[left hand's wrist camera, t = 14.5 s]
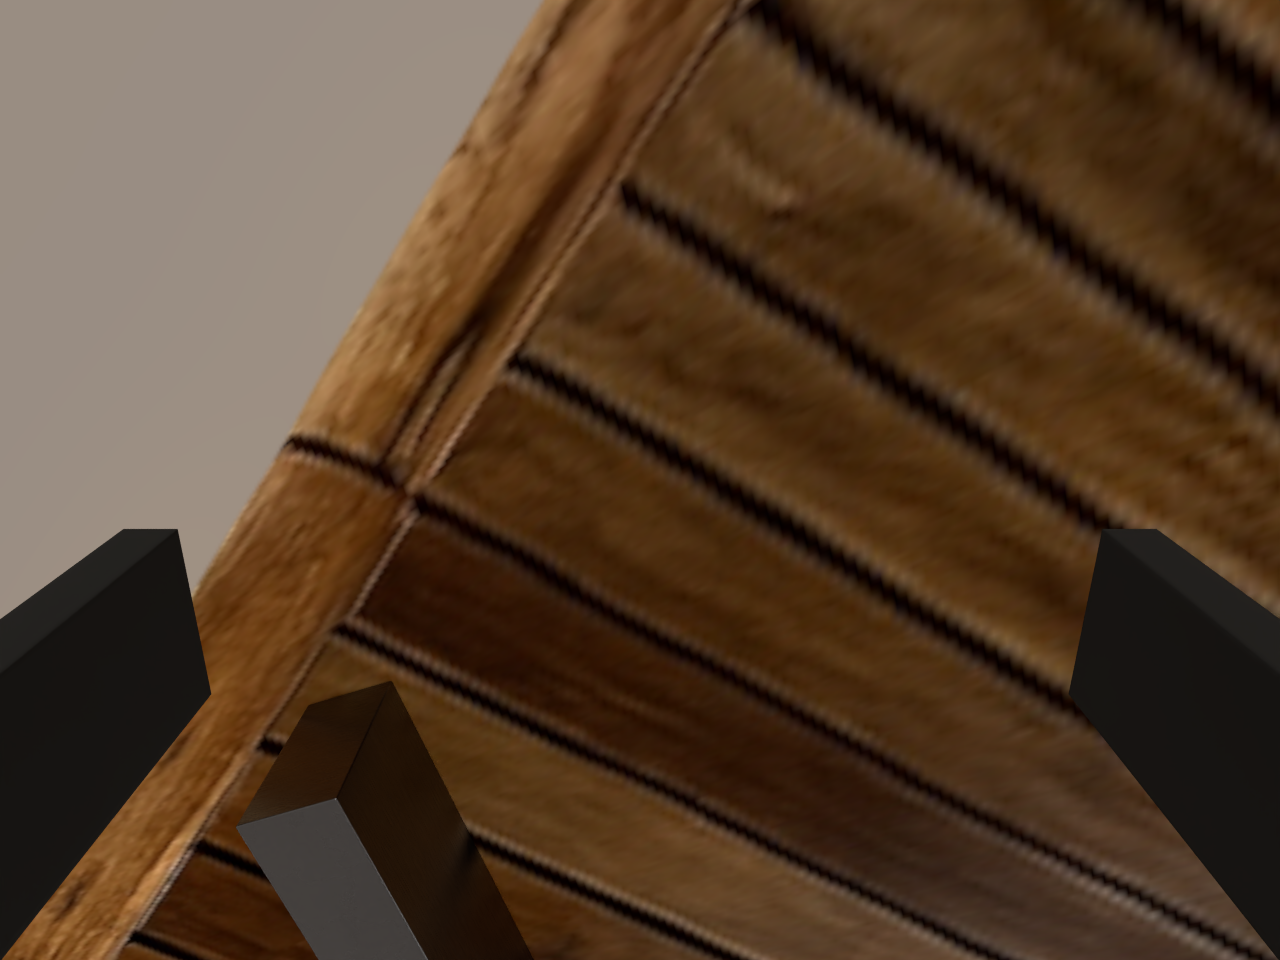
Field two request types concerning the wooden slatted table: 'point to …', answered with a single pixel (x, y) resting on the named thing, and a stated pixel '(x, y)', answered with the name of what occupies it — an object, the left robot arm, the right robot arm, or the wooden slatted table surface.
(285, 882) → the bar
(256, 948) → the wooden slatted table surface
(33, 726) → the left robot arm
